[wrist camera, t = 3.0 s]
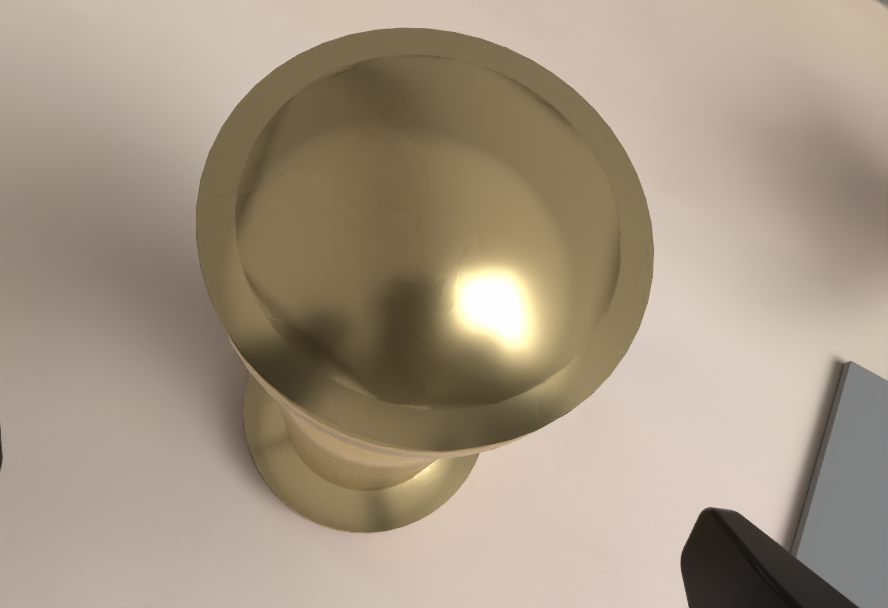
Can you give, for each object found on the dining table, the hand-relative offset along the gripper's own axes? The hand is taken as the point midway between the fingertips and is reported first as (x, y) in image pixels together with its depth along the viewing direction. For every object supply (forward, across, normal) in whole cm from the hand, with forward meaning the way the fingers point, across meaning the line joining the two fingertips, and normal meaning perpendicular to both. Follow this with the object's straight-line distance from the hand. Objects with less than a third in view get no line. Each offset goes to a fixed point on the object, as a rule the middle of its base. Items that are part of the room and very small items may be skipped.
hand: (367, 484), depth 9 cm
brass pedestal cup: (+9, 0, +5) cm, 10 cm away
